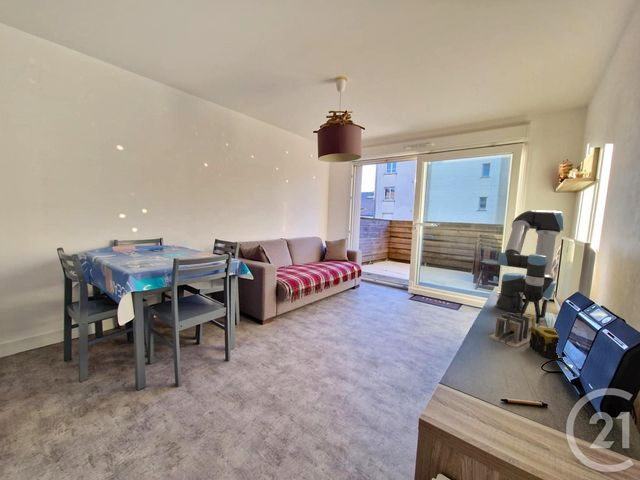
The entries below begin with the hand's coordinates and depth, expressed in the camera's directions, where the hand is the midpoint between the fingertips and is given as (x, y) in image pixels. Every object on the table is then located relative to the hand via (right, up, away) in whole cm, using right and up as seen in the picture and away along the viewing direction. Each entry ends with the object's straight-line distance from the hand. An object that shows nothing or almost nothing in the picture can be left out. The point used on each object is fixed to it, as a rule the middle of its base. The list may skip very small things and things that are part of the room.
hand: (528, 327), depth 146 cm
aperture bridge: (-21, -2, -13) cm, 25 cm away
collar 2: (-13, -2, -8) cm, 15 cm away
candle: (-10, -4, -24) cm, 26 cm away
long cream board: (-7, -2, -4) cm, 9 cm away
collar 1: (-18, -2, -11) cm, 21 cm away
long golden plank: (-6, +1, -4) cm, 8 cm away
